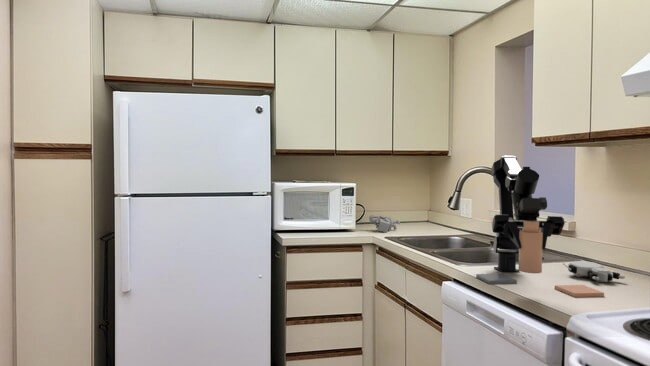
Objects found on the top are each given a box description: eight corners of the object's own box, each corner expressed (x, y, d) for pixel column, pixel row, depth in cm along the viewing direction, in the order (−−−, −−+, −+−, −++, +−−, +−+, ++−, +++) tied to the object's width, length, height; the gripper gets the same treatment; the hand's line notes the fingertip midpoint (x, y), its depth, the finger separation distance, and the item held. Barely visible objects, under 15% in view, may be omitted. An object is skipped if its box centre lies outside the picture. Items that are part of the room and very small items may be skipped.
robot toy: (627, 286, 146) (591, 272, 160) (628, 272, 145) (592, 259, 160) (593, 287, 143) (560, 273, 158) (594, 273, 143) (561, 260, 158)
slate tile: (476, 277, 152) (476, 274, 152) (502, 276, 153) (502, 273, 153) (489, 283, 143) (489, 280, 143) (516, 283, 144) (516, 280, 144)
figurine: (398, 241, 266) (369, 237, 260) (392, 224, 275) (365, 220, 269) (406, 229, 259) (376, 225, 253) (400, 212, 268) (372, 208, 262)
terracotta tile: (554, 288, 138) (554, 285, 138) (582, 288, 139) (582, 284, 139) (574, 296, 129) (574, 293, 129) (604, 296, 130) (604, 292, 130)
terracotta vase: (514, 268, 133) (515, 220, 133) (533, 268, 134) (534, 220, 134) (526, 273, 127) (528, 222, 127) (546, 273, 128) (547, 222, 128)
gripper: (494, 186, 135) (501, 229, 125) (563, 188, 132) (576, 232, 121) (489, 211, 143) (495, 253, 133) (554, 213, 140) (565, 256, 130)
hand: (531, 248), depth 129 cm, fingers closed on terracotta vase, 6 cm apart
